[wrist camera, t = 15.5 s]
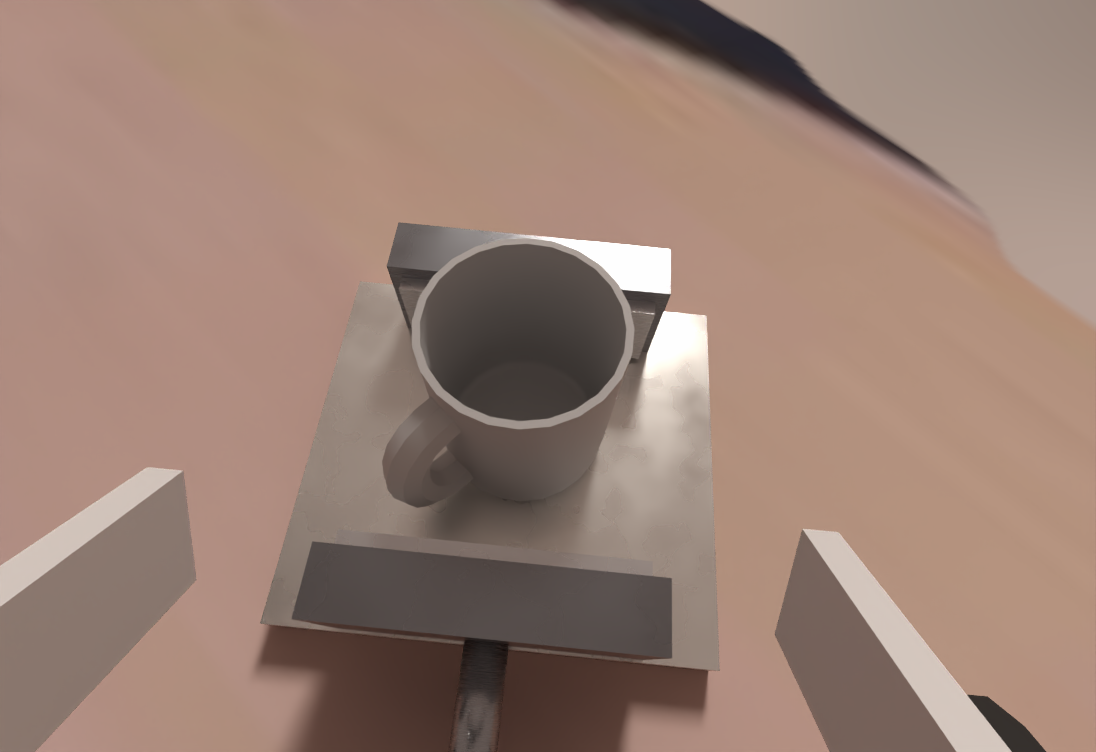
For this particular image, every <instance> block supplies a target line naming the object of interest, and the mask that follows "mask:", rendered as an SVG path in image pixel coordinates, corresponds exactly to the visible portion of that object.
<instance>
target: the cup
mask: <svg viewBox="0 0 1096 752" xmlns="http://www.w3.org/2000/svg"><path fill="white" fill-rule="evenodd" d="M634 330H635V329H634V324H633V319H632V315H631V310H630V305H629V303H628V301H627V300H626V298H625V296H624V294H623V292H622V290H621V288H620V286H619V285H618V283H617V282H616V281H615V280H614V279H613V278H612V277H611V276H610V274H609V273H608V272H607V271H606V270H605V269H604V268H603V267H602V266H601V265H600V264H598V263H597V262H595V261H594V260H592V259H591V258H589V257H588V256H586V255H584V254H583V253H581V252H580V251H578V250H575V249H573V248H570V247H567V246H564V245H562V244H559V243H556V242H553V241H546V240H539V239H532V238H517V239H501V240H497V241H494V242H490V243H487V244H483V245H479V246H476V247H474V248H472V249H470V250H468V251H466V252H464V253H462V254H461V255H459V256H457V257H455V258H453V259H452V260H450V261H449V262H448V263H447V264H446V265H445V266H444V267H443V268H441V269H440V270H439V271H438V272H437V273H436V274H435V275H434V276H433V277H432V278H431V280H430V281H429V283H428V284H427V286H426V287H425V289H424V290H423V292H422V293H421V295H420V297H419V299H418V302H417V306H416V309H415V312H414V316H413V319H412V348H413V351H414V354H415V357H416V360H417V363H418V366H419V369H420V372H421V375H422V378H423V381H424V383H425V386H426V389H427V392H428V395H429V399H427V400H426V401H425V402H424V403H422V404H421V405H420V406H419V407H418V408H416V409H415V410H414V411H413V412H412V413H411V414H410V415H409V416H408V417H407V419H406V420H405V421H404V422H403V423H402V424H401V425H400V426H399V427H398V429H397V430H396V432H395V433H394V435H393V436H392V438H391V439H390V441H389V442H388V444H387V446H386V449H385V453H384V456H383V460H382V466H383V474H384V478H385V481H386V485H387V489H388V491H389V492H390V494H391V495H392V496H393V498H395V499H397V500H399V501H402V502H404V503H406V504H408V505H411V506H414V507H417V508H419V507H426V506H430V505H432V504H434V503H437V502H439V501H441V500H443V499H445V498H447V497H449V496H451V495H453V494H454V493H456V492H457V491H459V490H460V489H461V488H463V487H464V486H465V485H466V484H467V483H469V482H471V483H472V484H474V485H475V486H476V487H477V488H479V489H480V490H482V491H484V492H487V493H489V494H491V495H493V496H496V497H498V498H502V499H508V500H515V501H529V500H540V499H544V498H547V497H549V496H552V495H555V494H557V493H560V492H562V491H564V490H565V489H566V488H568V487H569V486H571V485H572V484H573V483H575V482H576V481H578V480H579V479H580V478H581V476H582V475H583V474H584V473H585V471H586V470H587V469H588V468H589V466H590V465H591V464H592V462H593V460H594V459H595V456H596V454H597V452H598V449H599V447H600V444H601V442H602V440H603V437H604V434H605V431H606V428H607V425H608V422H609V419H610V417H611V414H612V411H613V408H614V405H615V402H616V399H617V397H618V394H619V391H620V388H621V385H622V382H623V379H624V376H625V374H626V371H627V368H628V365H629V362H630V359H631V356H632V351H633V340H634ZM445 446H446V447H447V451H445V452H444V453H443V454H442V455H440V456H439V457H438V458H437V459H435V460H434V461H433V459H434V458H435V456H436V455H437V454H438V453H439V452H440V451H441V450H442V449H443V448H444V447H445Z"/></svg>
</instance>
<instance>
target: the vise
mask: <svg viewBox="0 0 1096 752" xmlns="http://www.w3.org/2000/svg"><path fill="white" fill-rule="evenodd" d="M517 238H532V239H539V240H546V241H553V242H556V243H559V244H562V245H564V246H567V247H570V248H573V249H575V250H578V251H580V252H581V253H583V254H584V255H586V256H588V257H589V258H591V259H592V260H594V261H595V262H597V263H598V264H600V265H601V266H602V267H603V268H604V269H605V270H606V271H607V272H608V273H609V274H610V276H611V277H612V278H613V279H614V280H615V281H616V282H617V283H618V285H619V286H620V288H621V290H622V292H623V294H624V296H625V298H626V300H627V301H628V303H629V305H630V310H631V315H632V319H633V324H634V329H635V330H634V340H633V351H632V356H631V359H630V362H629V365H628V368H627V371H626V374H625V376H624V379H623V382H622V385H621V388H620V391H619V394H618V397H617V399H616V402H615V405H614V408H613V411H612V414H611V417H610V419H609V422H608V425H607V428H606V431H605V434H604V437H603V440H602V442H601V444H600V447H599V449H598V452H597V454H596V456H595V459H594V460H593V462H592V464H591V465H590V466H589V468H588V469H587V470H586V471H585V473H584V474H583V475H582V476H581V478H580V479H579V480H578V481H576V482H575V483H573V484H572V485H571V486H569V487H568V488H566V489H565V490H564V491H562V492H560V493H557V494H555V495H552V496H549V497H547V498H544V499H540V500H529V501H515V500H508V499H502V498H498V497H496V496H493V495H491V494H489V493H487V492H484V491H482V490H480V489H479V488H477V487H476V486H475V485H474V484H472V483H471V482H469V483H467V484H466V485H465V486H464V487H463V488H461V489H460V490H459V491H457V492H456V493H454V494H453V495H451V496H449V497H447V498H445V499H443V500H441V501H439V502H437V503H434V504H432V505H430V506H426V507H419V508H417V507H414V506H411V505H408V504H406V503H404V502H402V501H399V500H397V499H395V498H393V496H392V495H391V494H390V492H389V491H388V489H387V485H386V481H385V478H384V474H383V466H382V460H383V456H384V453H385V449H386V446H387V444H388V442H389V441H390V439H391V438H392V436H393V435H394V433H395V432H396V430H397V429H398V427H399V426H400V425H401V424H402V423H403V422H404V421H405V420H406V419H407V417H408V416H409V415H410V414H411V413H412V412H413V411H414V410H415V409H416V408H418V407H419V406H420V405H421V404H422V403H424V402H425V401H426V400H427V399H429V395H428V392H427V389H426V386H425V383H424V381H423V378H422V375H421V372H420V369H419V366H418V363H417V360H416V357H415V354H414V351H413V348H412V319H413V316H414V312H415V309H416V306H417V302H418V299H419V297H420V295H421V293H422V292H423V290H424V289H425V287H426V286H427V284H428V283H429V281H430V280H431V278H432V277H433V276H434V275H435V274H436V273H437V272H438V271H439V270H440V269H441V268H443V267H444V266H445V265H446V264H447V263H448V262H449V261H450V260H452V259H453V258H455V257H457V256H459V255H461V254H462V253H464V252H466V251H468V250H470V249H472V248H474V247H476V246H479V245H483V244H487V243H490V242H494V241H497V240H501V239H517ZM387 268H388V271H389V274H390V277H391V280H392V283H393V285H390V284H380V283H370V282H360V284H359V287H358V291H357V294H356V297H355V301H354V304H353V308H352V311H351V314H350V318H349V321H348V325H347V328H346V332H345V335H344V338H343V342H342V345H341V349H340V352H339V356H338V359H337V362H336V366H335V369H334V373H333V376H332V379H331V383H330V386H329V390H328V393H327V397H326V400H325V403H324V407H323V410H322V414H321V417H320V420H319V424H318V427H317V431H316V434H315V438H314V441H313V444H312V448H311V451H310V455H309V458H308V462H307V465H306V468H305V472H304V475H303V479H302V482H301V485H300V489H299V492H298V496H297V499H296V503H295V506H294V509H293V513H292V516H291V520H290V523H289V526H288V530H287V533H286V537H285V540H284V544H283V547H282V550H281V554H280V557H279V561H278V564H277V568H276V571H275V574H274V578H273V581H272V585H271V588H270V591H269V595H268V598H267V602H266V605H265V609H264V612H263V615H262V619H261V622H260V623H261V624H267V625H273V626H281V627H291V628H300V629H310V630H320V631H329V632H339V633H349V634H358V635H368V636H378V637H387V638H397V639H406V640H416V641H426V642H435V643H445V644H455V645H464V647H463V654H462V661H461V668H460V675H459V682H458V688H457V695H456V702H455V709H454V716H453V723H452V730H451V737H450V744H449V751H448V752H497V746H498V737H499V728H500V719H501V710H502V701H503V692H504V683H505V674H506V665H507V656H508V650H513V651H522V652H532V653H542V654H551V655H561V656H571V657H580V658H590V659H600V660H609V661H619V662H629V663H638V664H648V665H658V666H667V667H677V668H687V669H696V670H706V671H720V668H719V641H718V614H717V587H716V560H715V533H714V506H713V479H712V452H711V425H710V398H709V371H708V344H707V317H706V316H704V315H694V314H684V313H673V312H664V310H665V307H666V305H667V302H668V300H669V297H670V295H671V249H664V248H654V247H643V246H633V245H623V244H613V243H603V242H592V241H582V240H572V239H562V238H552V237H542V236H531V235H521V234H511V233H501V232H491V231H480V230H470V229H460V228H450V227H440V226H429V225H419V224H409V223H398V227H397V231H396V234H395V238H394V242H393V245H392V249H391V253H390V256H389V260H388V264H387ZM445 451H447V447H446V446H445V447H444V448H443V449H442V450H441V451H440V452H439V453H438V454H437V455H436V456H435V458H434V459H433V461H434V460H435V459H437V458H438V457H439V456H440V455H442V454H443V453H444V452H445Z"/></svg>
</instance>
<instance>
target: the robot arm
mask: <svg viewBox="0 0 1096 752" xmlns="http://www.w3.org/2000/svg"><path fill="white" fill-rule="evenodd" d="M195 581H196V572H195V564H194V556H193V547H192V539H191V531H190V522H189V514H188V506H187V497H186V489H185V481H184V472H183V471H182V470H171V469H160V468H150V467H147V468H145V469H144V470H142V471H141V472H139V473H138V474H136V475H135V476H133V477H132V478H130V479H129V480H127V481H126V482H124V483H123V484H121V485H120V486H118V487H117V488H115V489H114V490H113V491H111V492H110V493H108V494H107V495H105V496H104V497H102V498H101V499H99V500H98V501H96V502H95V503H93V504H92V505H90V506H89V507H87V508H86V509H84V510H83V511H81V512H80V513H78V514H77V515H75V516H74V517H72V518H71V519H69V520H68V521H66V522H65V523H63V524H62V525H60V526H59V527H57V528H56V529H54V530H53V531H51V532H50V533H48V534H47V535H45V536H44V537H42V538H41V539H40V540H38V541H37V542H35V543H34V544H32V545H31V546H29V547H28V548H26V549H25V550H23V551H22V552H20V553H19V554H17V555H16V556H14V557H13V558H11V559H10V560H8V561H7V562H5V563H4V564H2V565H1V566H0V752H35V751H36V750H37V749H38V748H39V747H40V746H41V745H42V744H43V743H44V742H45V741H46V740H47V739H48V737H49V736H50V735H51V734H52V733H53V732H54V731H55V730H56V729H57V728H58V727H59V726H60V725H61V724H62V723H63V722H64V720H65V719H66V718H67V717H68V716H69V715H70V714H71V713H72V712H73V711H74V710H75V709H76V708H77V707H78V706H79V704H80V703H81V702H82V701H83V700H84V699H85V698H86V697H87V696H88V695H89V694H90V693H91V692H92V691H93V690H94V688H95V687H96V686H97V685H98V684H99V683H100V682H101V681H102V680H103V679H104V678H105V677H106V676H107V675H108V674H109V672H110V671H111V670H112V669H113V668H114V667H115V666H116V665H117V664H118V663H119V662H120V661H121V660H122V659H123V658H124V656H125V655H126V654H127V653H128V652H129V651H130V650H131V649H132V648H133V647H134V646H135V645H136V644H137V643H138V642H139V641H140V639H141V638H142V637H143V636H144V635H145V634H146V633H147V632H148V631H149V630H150V629H151V628H152V627H153V626H154V625H155V623H156V622H157V621H158V620H159V619H160V618H161V617H162V616H163V615H164V614H165V613H166V612H167V611H168V610H169V609H170V607H171V606H172V605H173V604H174V603H175V602H176V601H177V600H178V599H179V598H180V597H181V596H182V595H183V594H184V593H185V591H186V590H187V589H188V588H189V587H190V586H191V585H192V584H193V583H194V582H195ZM775 636H776V638H777V640H778V642H779V644H780V646H781V649H782V651H783V653H784V655H785V657H786V659H787V661H788V664H789V666H790V668H791V670H792V672H793V674H794V676H795V679H796V681H797V683H798V685H799V687H800V689H801V691H802V694H803V696H804V698H805V700H806V702H807V704H808V706H809V709H810V711H811V713H812V715H813V717H814V719H815V721H816V724H817V726H818V728H819V730H820V732H821V734H822V736H823V739H824V741H825V743H826V745H827V747H828V749H829V751H830V752H1046V751H1045V750H1044V749H1043V747H1042V746H1041V745H1040V744H1039V743H1038V742H1037V740H1036V739H1035V738H1034V737H1033V736H1032V734H1031V733H1030V732H1029V731H1028V730H1027V729H1026V727H1025V726H1023V725H1022V724H1021V723H1020V722H1019V721H1017V720H1016V719H1015V718H1014V717H1012V716H1011V715H1010V714H1009V713H1007V712H1006V711H1005V710H1004V709H1002V708H1001V707H1000V706H999V705H997V704H996V703H995V702H994V701H992V700H991V699H990V698H989V697H986V696H976V695H967V694H966V693H965V692H964V691H963V689H962V688H961V687H960V686H959V684H958V683H957V682H956V681H955V679H954V678H953V677H952V675H951V674H950V673H949V672H948V670H947V669H946V668H945V667H944V665H943V664H942V663H941V662H940V660H939V659H938V658H937V656H936V655H935V654H934V653H933V651H932V650H931V649H930V648H929V646H928V645H927V644H926V643H925V641H924V640H923V639H922V637H921V636H920V635H919V634H918V632H917V631H916V630H915V629H914V627H913V626H912V625H911V624H910V622H909V621H908V620H907V618H906V617H905V616H904V615H903V613H902V612H901V611H900V610H899V608H898V607H897V606H896V605H895V603H894V602H893V601H892V599H891V598H890V597H889V596H888V594H887V593H886V592H885V591H884V589H883V588H882V587H881V585H880V584H879V583H878V582H877V580H876V579H875V578H874V577H873V575H872V574H871V573H870V572H869V570H868V569H867V568H866V566H865V565H864V564H863V563H862V561H861V560H860V559H859V558H858V556H857V555H856V554H855V553H854V551H853V550H852V549H851V547H850V546H849V545H848V544H847V542H846V541H845V540H844V539H843V537H842V536H841V535H840V534H839V532H831V531H820V530H810V529H802V532H801V536H800V540H799V543H798V547H797V551H796V555H795V559H794V563H793V566H792V570H791V574H790V578H789V582H788V585H787V589H786V593H785V597H784V601H783V605H782V608H781V612H780V616H779V620H778V624H777V627H776V631H775Z"/></svg>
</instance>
